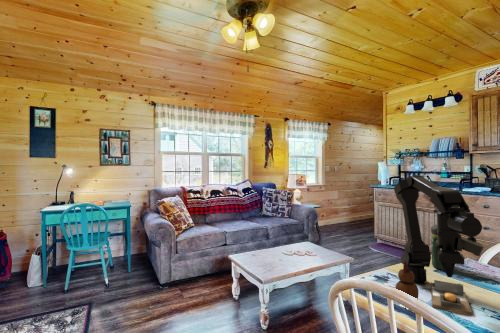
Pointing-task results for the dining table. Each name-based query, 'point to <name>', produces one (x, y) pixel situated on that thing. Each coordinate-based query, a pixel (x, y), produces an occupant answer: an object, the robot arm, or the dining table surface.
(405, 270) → the wooden figurine
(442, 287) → the cylinder
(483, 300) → the dining table surface
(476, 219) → the robot arm
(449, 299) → the button
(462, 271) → the dining table surface
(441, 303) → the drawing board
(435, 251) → the coffee jar
